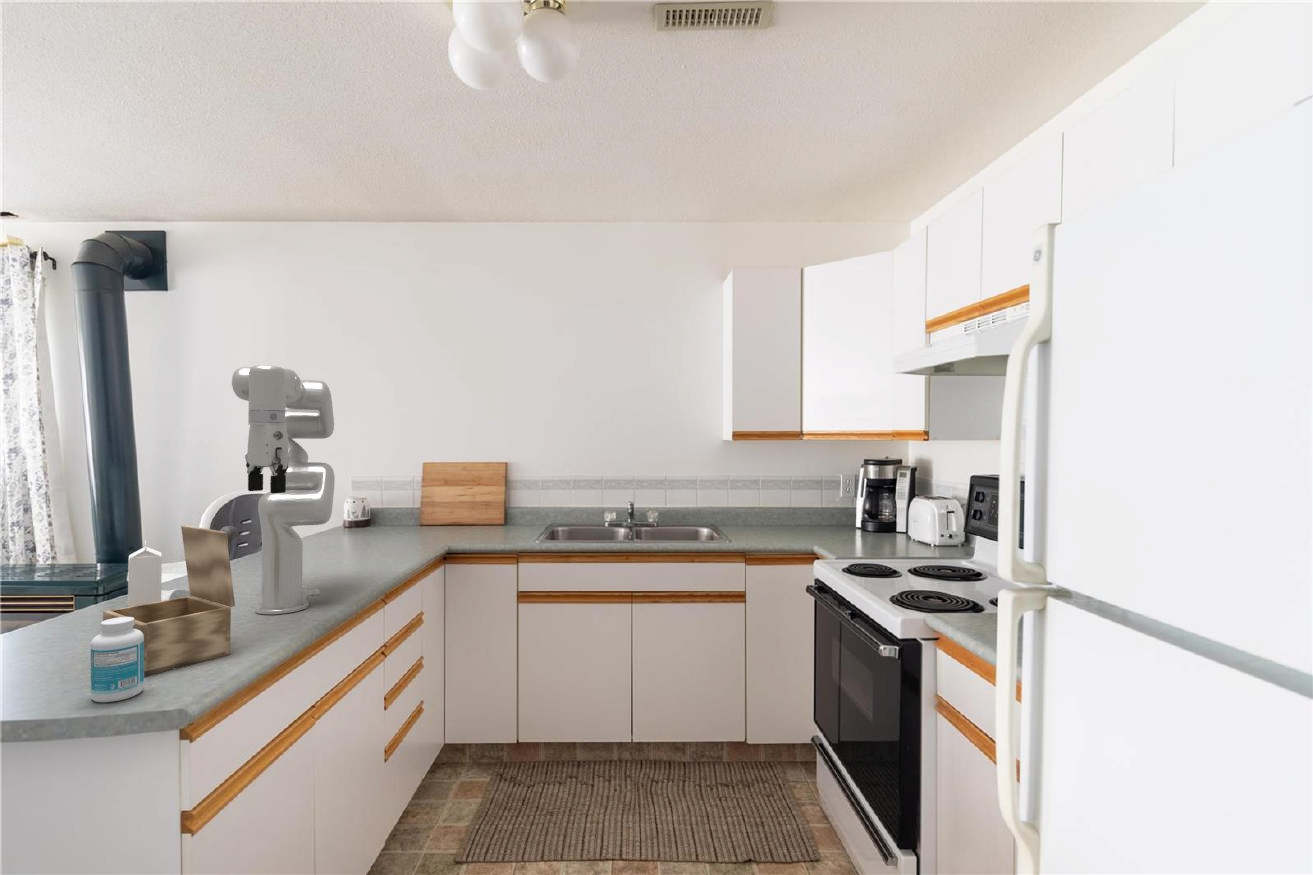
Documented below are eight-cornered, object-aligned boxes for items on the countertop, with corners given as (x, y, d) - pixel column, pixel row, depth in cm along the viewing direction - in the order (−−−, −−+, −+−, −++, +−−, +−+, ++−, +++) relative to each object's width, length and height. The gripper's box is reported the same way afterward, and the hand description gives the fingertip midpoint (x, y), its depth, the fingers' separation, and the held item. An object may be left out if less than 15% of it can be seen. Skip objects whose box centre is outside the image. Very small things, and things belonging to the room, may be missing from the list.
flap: (190, 595, 151) (224, 585, 157) (231, 607, 141) (266, 596, 147) (181, 526, 149) (216, 519, 155) (222, 533, 139) (258, 525, 146)
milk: (127, 644, 148) (127, 544, 148) (128, 637, 153) (128, 541, 152) (161, 639, 151) (161, 542, 151) (161, 632, 156) (161, 538, 156)
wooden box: (190, 640, 151) (190, 595, 151) (230, 654, 141) (230, 607, 141) (102, 659, 137) (103, 611, 137) (140, 677, 128) (140, 625, 128)
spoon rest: (165, 603, 184) (165, 577, 184) (215, 600, 188) (215, 574, 188) (130, 626, 162) (130, 597, 162) (187, 622, 166) (187, 593, 166)
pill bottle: (110, 688, 122) (111, 614, 122) (153, 687, 123) (154, 614, 123) (79, 704, 115) (79, 626, 115) (124, 703, 115) (125, 625, 115)
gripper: (303, 419, 155) (303, 492, 155) (263, 419, 164) (263, 489, 164) (270, 418, 148) (270, 495, 148) (231, 418, 158) (230, 491, 158)
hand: (266, 491), depth 156 cm, fingers open, 9 cm apart
